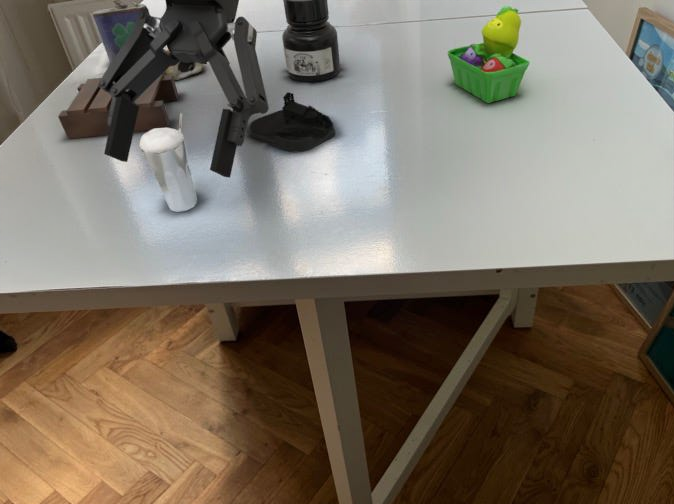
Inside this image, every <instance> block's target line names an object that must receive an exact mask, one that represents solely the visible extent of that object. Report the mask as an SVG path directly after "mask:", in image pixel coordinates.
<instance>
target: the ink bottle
mask: <svg viewBox="0 0 674 504" xmlns="http://www.w3.org/2000/svg"><path fill="white" fill-rule="evenodd" d="M282 2H283V8H284V14H285V21H286V23H287V24H288V25H287V26H286V28H285V29H284V30H283V32H282V36H281V38H282V48H283V55H284V59H285V66H286V69H287V70H286V71H287V74H288V76H289V77H290V78H291V79H293V80H296V81H301V82H321V81H325V80H329V79H331V78H333V77H335V76H336V75H338V74H339V72H340V70H341V61H340V49H339V39H338V32H337V29H336V28H335V26H334V25H332V24H331V23H330V22H329V21H328V20H329V19H330V16H329V14H330V13H329V5H328V0H282Z"/></svg>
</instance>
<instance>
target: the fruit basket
mask: <svg viewBox="0 0 674 504" xmlns="http://www.w3.org/2000/svg"><path fill="white" fill-rule="evenodd" d="M518 13H519V9H517V8H513V7H511V6H510V5H508V6H503V7H502V8H501V9H500V10H499V11H498V12H497V14H496V15H495V17H494V18H492V19H491V20H489V21H487V23H486V24H484V26H483V27H482V29H481V35H482V41H483V42H481V43H471V44H469V45H466V46H460V47H456V48H452V49H449V50H447V52H446V53H447V56H448V59H449V61H450V66H451V71H452V75H453V79H454V85H456V86H457V87H459V88H461V89H463V90H464V91H466V92H467V93H470V94H472V95H473V96H474V97H476V98H478V99H480V100H482V101H483V102H484V103H487V104H491V103H493V102H499V101H502V100H506V99H509V98H513V97H516V96H517V93H518V91H519V88H520V86H521V83H522V80H523V77H524V75H525V72H526V70H528V67H529V65H530V63H531V62H530V61H529V60H527V59H526V58H523V57H521V56H520V55H517V54H515V53H513V52H514V50H515V49H516V48H517V45H518V43H519V39H520V29H521V25H522V19H521V17H520V15H519V14H518Z"/></svg>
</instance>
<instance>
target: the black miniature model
mask: <svg viewBox="0 0 674 504" xmlns="http://www.w3.org/2000/svg"><path fill="white" fill-rule="evenodd" d="M294 95H295V94H294V93H293V92H289V91H287V92H286V93H285V94H284V95H283V97H282V98H283V105H282V107H281V109H280V110H277V111H274V112H271V113H269V114H265V115H263V116H261V117H258V118H256V119H254V120H252V121H251V122H250V124H249V127H248V129H249V134H250V136H251V138H253V139H255V140H257V141H260V142H263V143H265V144H268V145H270V146H272V147H274V148H278V149H280V150H281V151H286V152H293V153H295V152H296V153H297V152H299V153H301V152H306V151H309V150H311V149H313V148H315V147H317V146H319V145H321V144H322V143H324V142H326V141H328V140H329V139H332V138H333V137H335V135H336V130H335V127H334V123H333V121H332V119H331V118H330V117H329V115H326V114H324V113H323V112H320V111H319V110H318V109H315V107H313V106H312V105H311V106H310V105H305V104H302V103H299V102H297V101H296V100H295V97H294Z"/></svg>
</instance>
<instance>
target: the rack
mask: <svg viewBox="0 0 674 504" xmlns="http://www.w3.org/2000/svg"><path fill="white" fill-rule="evenodd" d="M164 73H165V72H164ZM164 73H163V74H162V75H160V76H159V77H158V78H157V79H156V80H155V81H154V82H153V83H152V84H151V85H150V86H149V87H148V88H147V89H146V90H145V91H144V92H143V93H142V94H141V95H140V96H139V97H138V98H137V99H136V100H135V101H134V102H135V103H136V105H137V106H139V110H138V114H137V119H136V123H135V128H134V133H138V132H149V131H150V130H152V129H154V128H166V127H167V128H170V124H171V121H170V117H169V115H168V111H167V108H166V105H165V103H169V102H176V101H178V99H179V96H180V94H179V90H178V88H177V85H176V80H174V77H173V75H167V74H164ZM101 78H102V77H94V78H93V77H92V78H87V80H86V81H85V82H84V83H80V84H79V85H78V87H77V88H76V89H77V91H78V93H77V94H76V96H75V97H74V99H73V100H72V101H71V103H70V104H69V106H68V107H67V109H65V110H61V111H60V113H59V114H58V116H57V117H58V120H59V122H60V124H61V126H62V128H63V131H64V133H65V135H66V137H67V139H68V140H70V139H72V140H73V139H81V138H82V139H83V138H90V137H91V138H92V137H101V136H108V134H109V129H110V126H108V122H107V120H108V116H109V111H110V106H111V102H112V96H111V95H110V94H109V93H108V92H106V91H104V90H103V89H101V88H100V87H99V81H100V79H101ZM113 84H115V82H113ZM128 90H129V89H127V90H126V91H128Z"/></svg>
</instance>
